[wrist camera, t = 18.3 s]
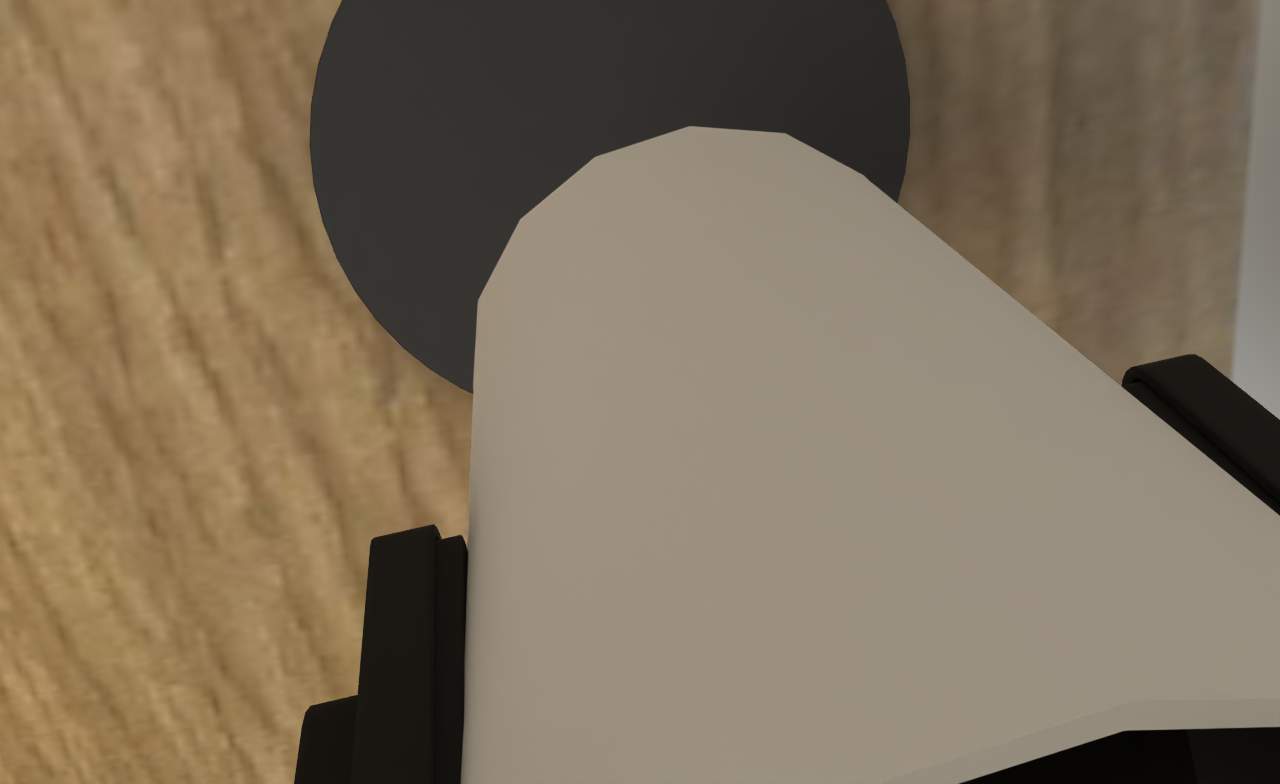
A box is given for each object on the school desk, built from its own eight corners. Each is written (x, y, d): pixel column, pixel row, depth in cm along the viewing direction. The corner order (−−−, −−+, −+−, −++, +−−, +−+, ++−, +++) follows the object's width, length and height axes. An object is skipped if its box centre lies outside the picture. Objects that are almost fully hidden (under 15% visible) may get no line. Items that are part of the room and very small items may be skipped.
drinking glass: (388, 124, 13) (291, 843, 5) (974, 53, 14) (1875, 573, 5) (477, 605, 16) (519, 1573, 8) (950, 530, 17) (1485, 1352, 8)
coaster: (225, -101, 20) (221, -98, 19) (883, -232, 20) (890, -231, 20) (402, 465, 25) (402, 475, 25) (920, 350, 25) (926, 358, 25)
